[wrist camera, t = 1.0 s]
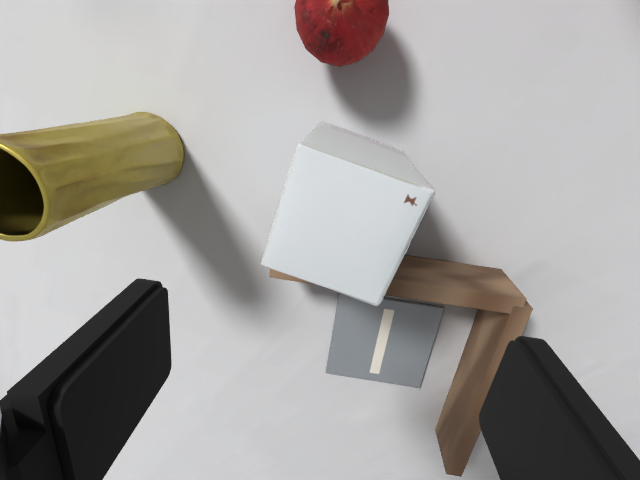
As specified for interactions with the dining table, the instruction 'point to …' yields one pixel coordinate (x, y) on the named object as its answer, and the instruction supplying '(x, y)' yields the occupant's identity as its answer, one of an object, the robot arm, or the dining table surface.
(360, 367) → the pad
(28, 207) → the vase
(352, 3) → the red oval fruit
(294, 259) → the supplement box
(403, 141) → the dining table surface
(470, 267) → the corner arena
